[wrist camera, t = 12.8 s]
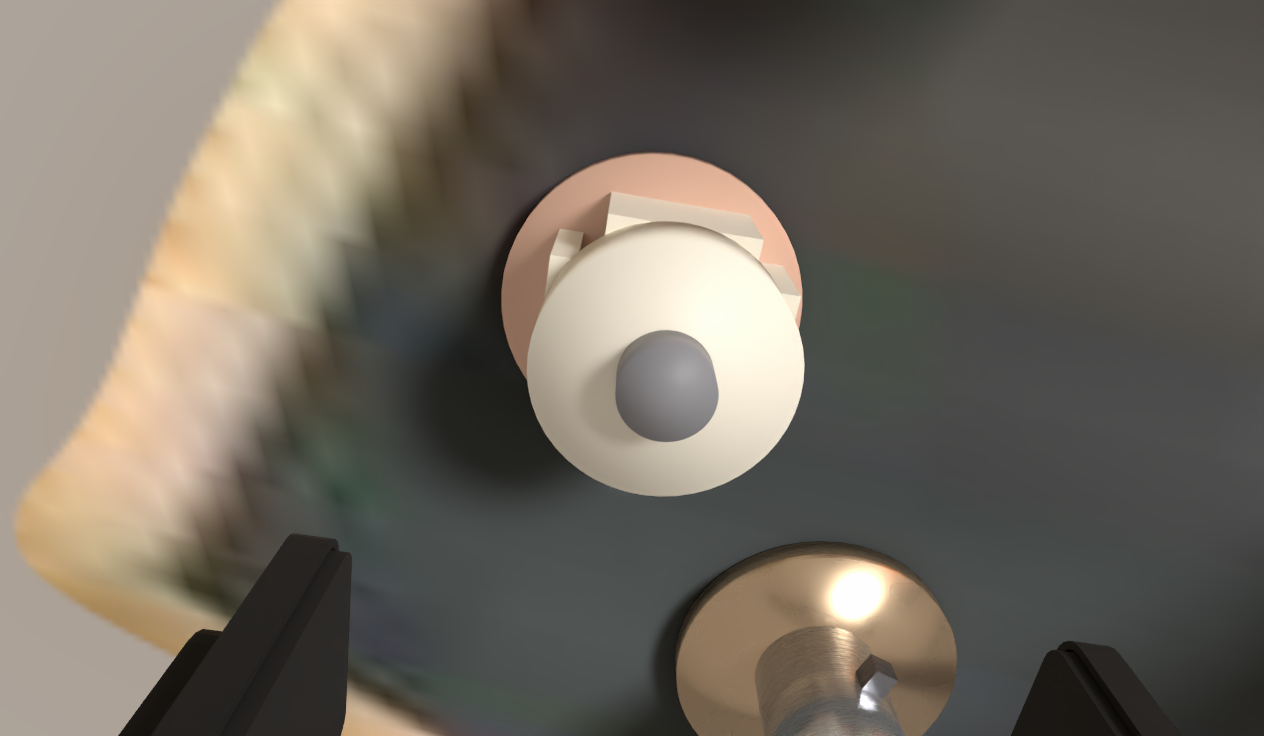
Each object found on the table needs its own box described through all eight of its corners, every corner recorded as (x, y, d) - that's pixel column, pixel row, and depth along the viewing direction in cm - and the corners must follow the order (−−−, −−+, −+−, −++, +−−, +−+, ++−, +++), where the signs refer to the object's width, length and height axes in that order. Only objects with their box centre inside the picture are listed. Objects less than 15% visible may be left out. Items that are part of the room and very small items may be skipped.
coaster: (592, 91, 24) (591, 93, 23) (855, 246, 26) (862, 253, 25) (456, 351, 27) (451, 360, 26) (700, 475, 28) (701, 487, 28)
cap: (797, 219, 24) (847, 280, 19) (746, 429, 27) (776, 539, 21) (563, 179, 24) (540, 229, 18) (533, 396, 27) (505, 499, 21)
